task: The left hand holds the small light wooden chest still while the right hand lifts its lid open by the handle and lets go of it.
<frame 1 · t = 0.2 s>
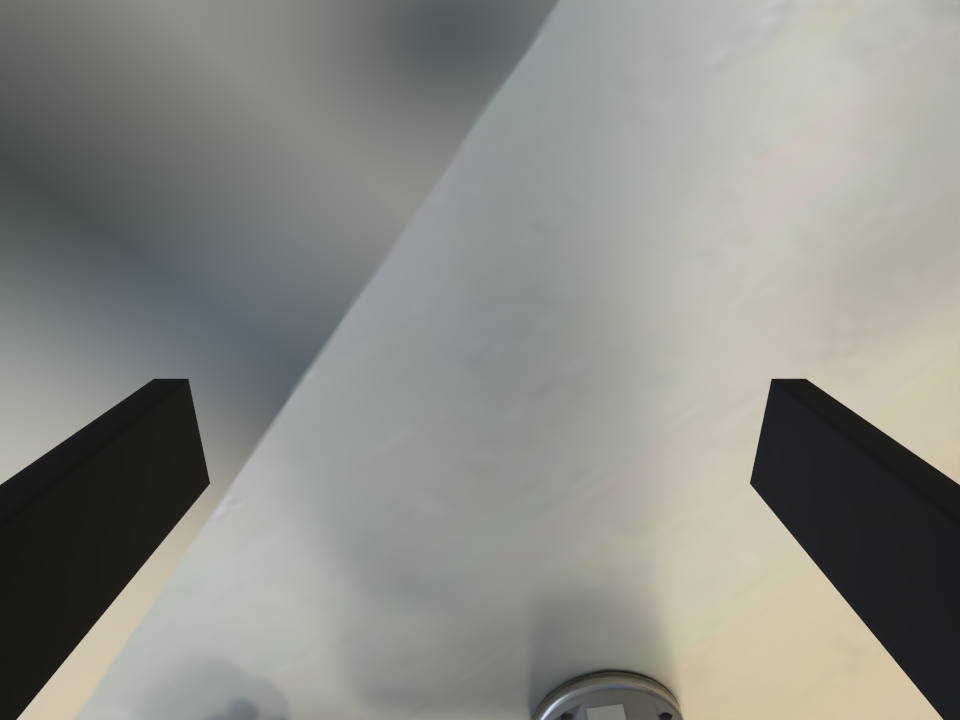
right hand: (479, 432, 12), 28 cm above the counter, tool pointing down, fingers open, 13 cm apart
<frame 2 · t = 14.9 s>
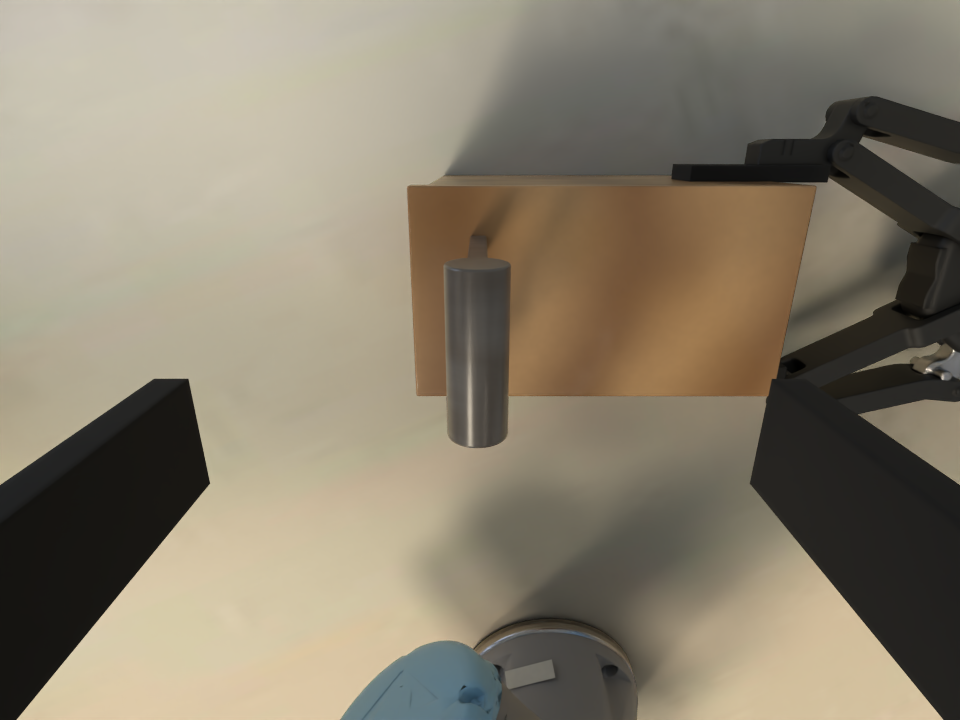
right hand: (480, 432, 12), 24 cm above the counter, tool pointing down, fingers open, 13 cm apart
left hand: (668, 275, 29), fingers closed on chest, 9 cm apart
lid: (622, 322, 21), point 15 cm above the counter, hinge at 0.0°
chest: (570, 253, 35), on the counter, touching left hand
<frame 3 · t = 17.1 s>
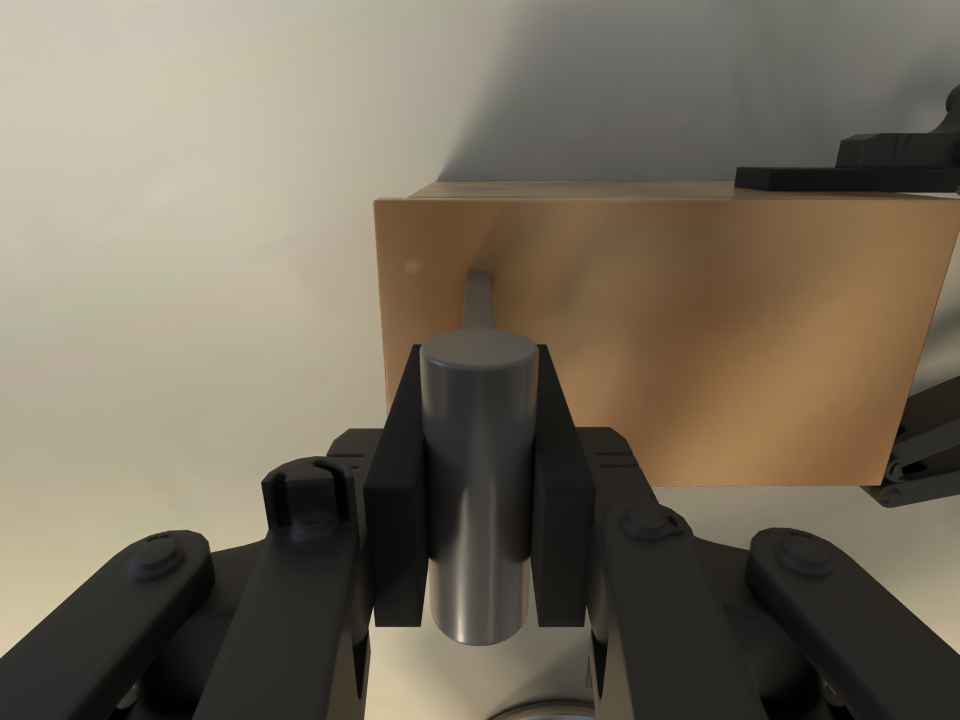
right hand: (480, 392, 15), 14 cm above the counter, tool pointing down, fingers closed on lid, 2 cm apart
lid: (697, 408, 14), point 15 cm above the counter, hinge at 0.9°, touching right hand
chest: (594, 277, 28), on the counter, touching left hand
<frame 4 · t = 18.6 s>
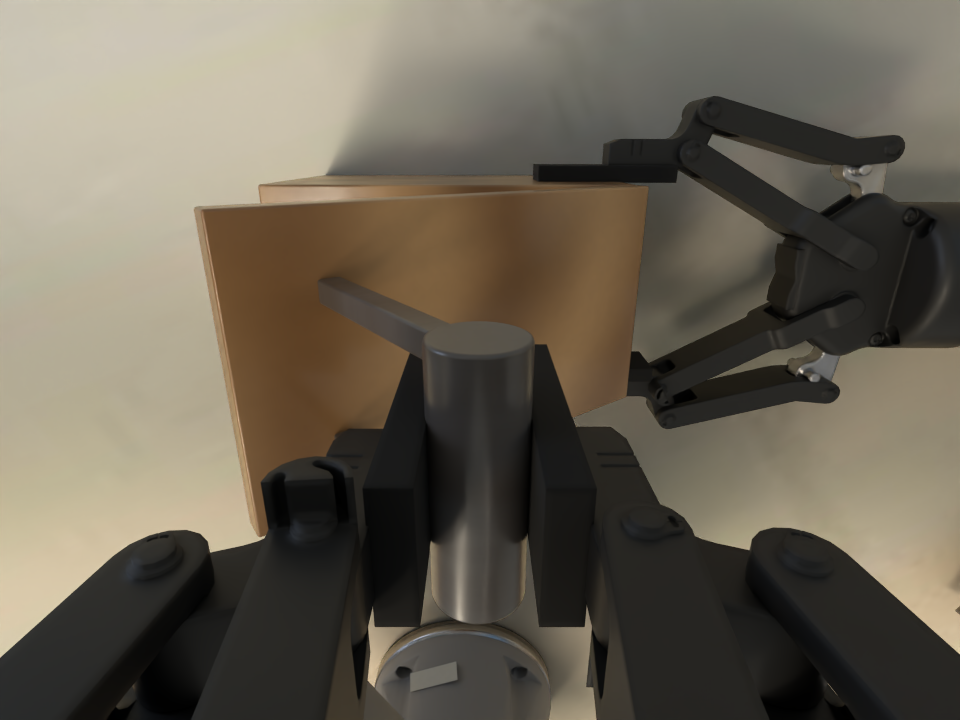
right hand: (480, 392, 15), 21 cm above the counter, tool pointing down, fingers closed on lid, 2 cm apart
left hand: (531, 275, 28), fingers closed on chest, 9 cm apart
lid: (555, 364, 16), point 19 cm above the counter, hinge at 36.5°, touching right hand
chest: (457, 253, 35), on the counter, touching left hand
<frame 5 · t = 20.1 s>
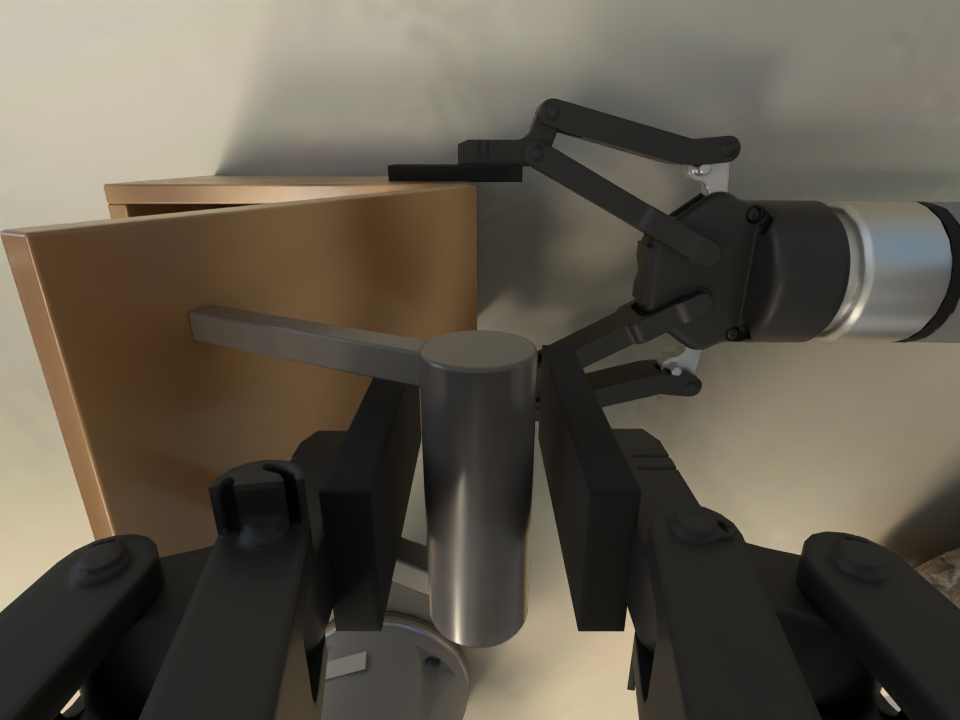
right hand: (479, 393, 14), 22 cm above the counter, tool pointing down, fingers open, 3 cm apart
left hand: (397, 272, 29), fingers closed on chest, 9 cm apart
lid: (457, 366, 16), point 20 cm above the counter, hinge at 63.4°
chest: (348, 251, 35), on the counter, touching left hand
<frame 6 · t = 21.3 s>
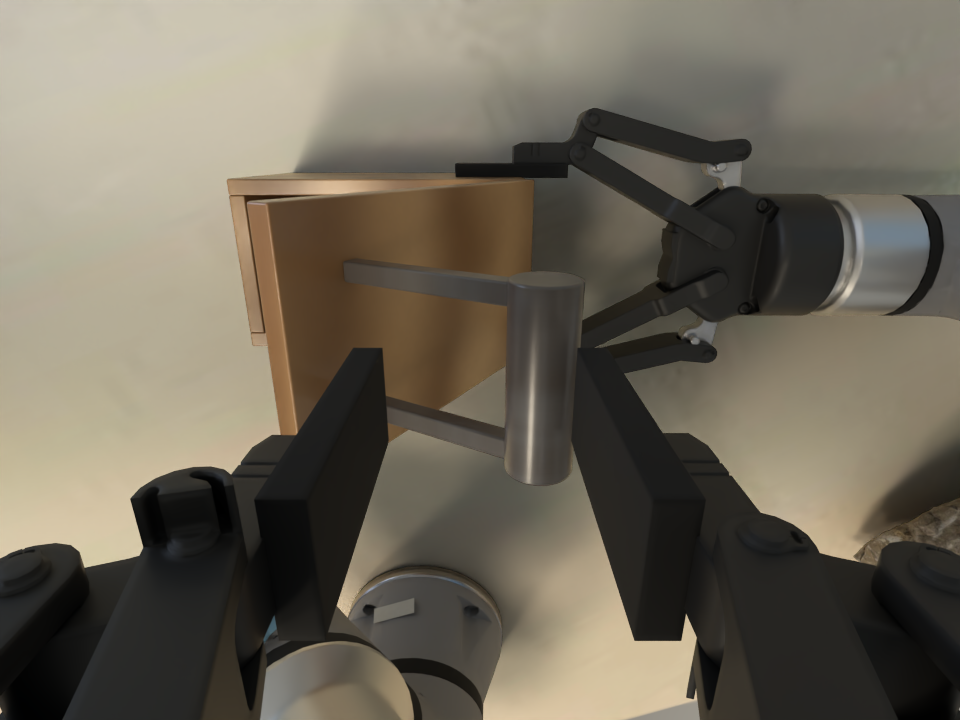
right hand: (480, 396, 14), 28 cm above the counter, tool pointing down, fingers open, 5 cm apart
left hand: (457, 255, 34), fingers closed on chest, 9 cm apart
lid: (520, 315, 21), point 20 cm above the counter, hinge at 59.5°
chest: (406, 239, 41), on the counter, touching left hand
fossil: (957, 488, 48), on the counter
when the left hand's fingers open (7 cm above the counter, at t = 23.9 s): chest stays where it is, on the counter.
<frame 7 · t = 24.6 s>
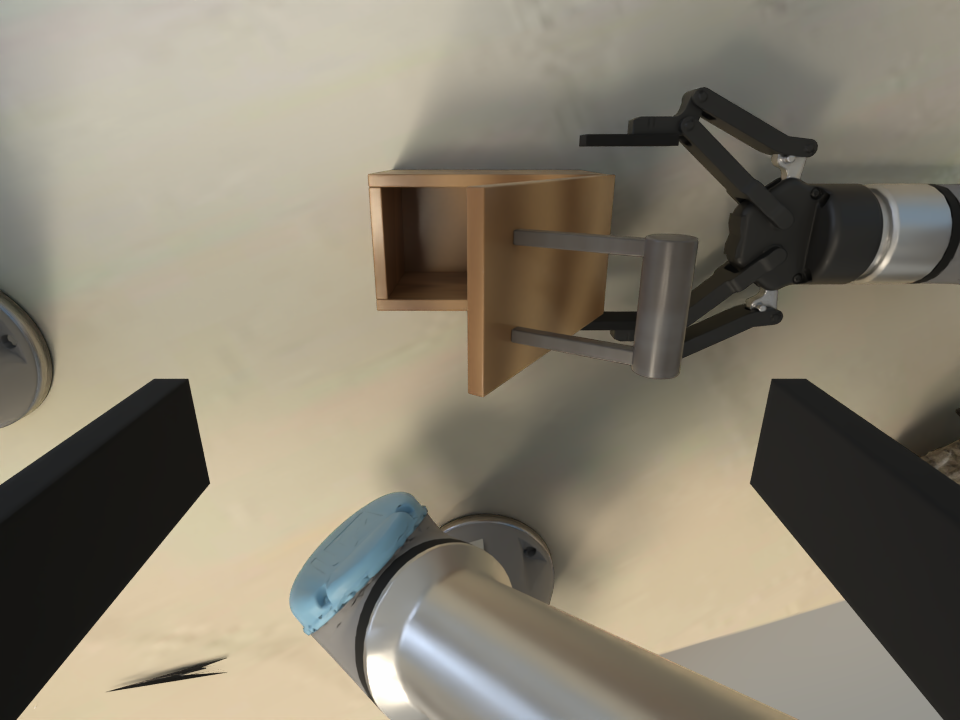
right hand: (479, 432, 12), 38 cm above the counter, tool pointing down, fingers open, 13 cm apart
left hand: (576, 235, 42), fingers open, 13 cm apart
lid: (622, 274, 29), point 20 cm above the counter, hinge at 58.8°
chest: (485, 226, 48), on the counter
fossil: (949, 441, 56), on the counter
feather: (133, 681, 68), on the counter
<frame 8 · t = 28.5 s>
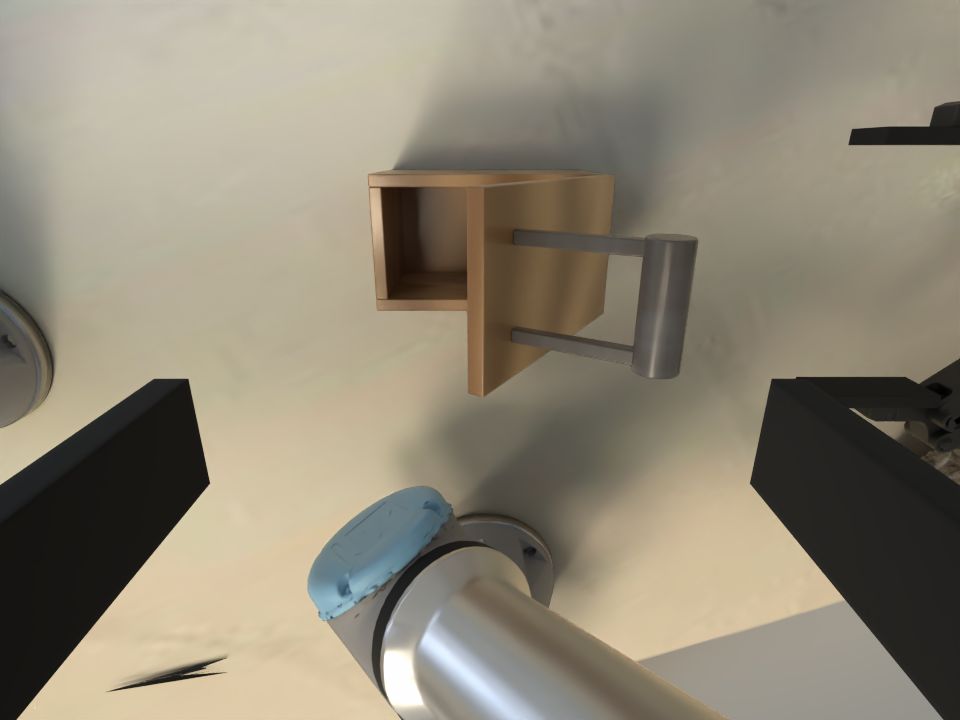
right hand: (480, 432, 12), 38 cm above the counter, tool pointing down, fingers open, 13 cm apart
lid: (622, 274, 29), point 20 cm above the counter, hinge at 58.8°
chest: (485, 226, 48), on the counter
fossil: (949, 441, 56), on the counter
feather: (133, 681, 68), on the counter
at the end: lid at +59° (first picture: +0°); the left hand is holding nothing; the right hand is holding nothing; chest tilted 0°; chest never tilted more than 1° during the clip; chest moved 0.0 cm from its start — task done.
